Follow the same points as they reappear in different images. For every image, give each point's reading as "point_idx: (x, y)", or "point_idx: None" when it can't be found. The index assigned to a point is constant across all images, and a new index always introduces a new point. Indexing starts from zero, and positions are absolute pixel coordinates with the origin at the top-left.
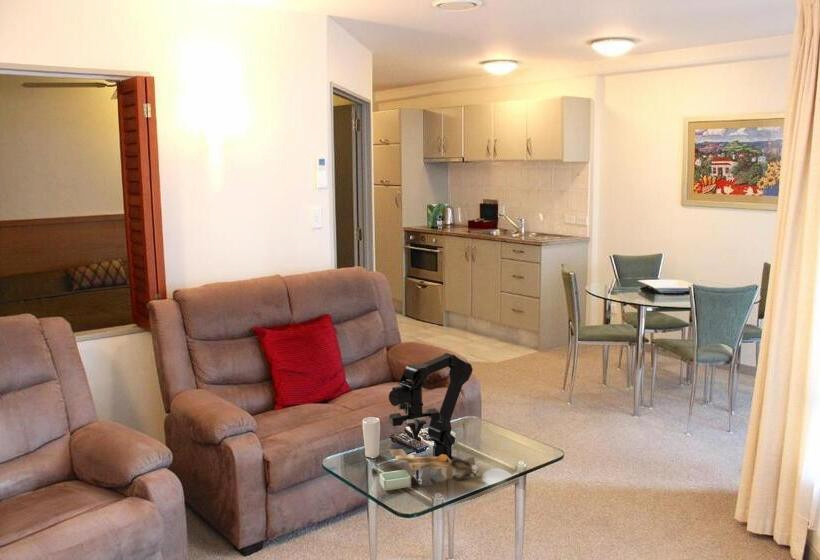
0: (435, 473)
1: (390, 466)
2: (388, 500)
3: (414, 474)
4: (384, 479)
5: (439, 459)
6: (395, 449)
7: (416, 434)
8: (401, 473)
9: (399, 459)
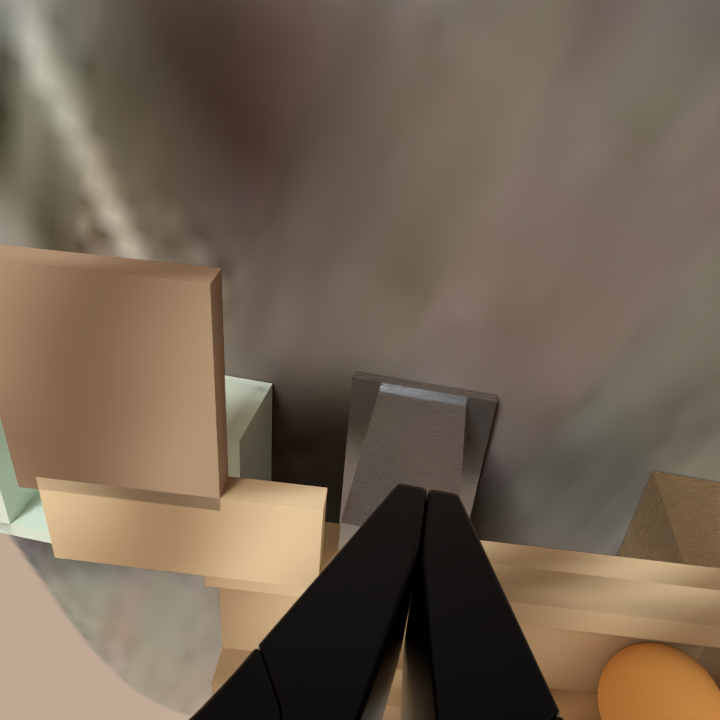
0: (598, 434)
1: (186, 29)
2: (68, 581)
3: (372, 382)
4: (3, 505)
5: (600, 711)
6: (69, 272)
7: (404, 713)
8: None
9: (91, 551)
